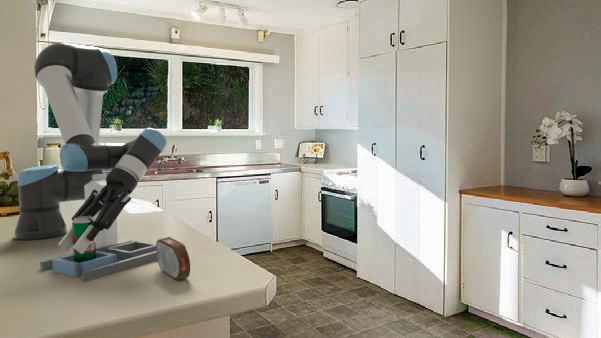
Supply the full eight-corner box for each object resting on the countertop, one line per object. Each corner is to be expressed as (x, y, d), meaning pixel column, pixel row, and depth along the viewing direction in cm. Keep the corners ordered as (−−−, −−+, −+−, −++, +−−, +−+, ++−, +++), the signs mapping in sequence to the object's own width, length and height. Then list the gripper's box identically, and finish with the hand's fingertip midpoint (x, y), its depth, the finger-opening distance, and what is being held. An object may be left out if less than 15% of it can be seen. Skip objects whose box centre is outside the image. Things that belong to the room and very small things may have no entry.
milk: (87, 250, 126) (82, 174, 125) (101, 245, 132) (97, 173, 131) (105, 251, 125) (100, 174, 123) (118, 246, 131) (114, 173, 129)
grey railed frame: (40, 269, 108) (39, 257, 107) (130, 246, 130) (129, 236, 130) (85, 281, 98) (84, 268, 98) (173, 254, 120) (173, 243, 120)
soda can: (87, 268, 105) (85, 219, 104) (69, 267, 106) (66, 218, 105) (101, 262, 110) (99, 215, 109) (83, 261, 111) (81, 215, 110)
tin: (192, 282, 97) (191, 244, 96) (178, 285, 95) (177, 247, 94) (167, 266, 109) (166, 233, 108) (154, 269, 107) (153, 235, 106)
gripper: (157, 186, 115) (104, 262, 102) (113, 183, 124) (59, 252, 112) (140, 167, 110) (81, 245, 97) (95, 165, 120) (37, 236, 107)
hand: (70, 249), depth 104 cm, fingers open, 5 cm apart
